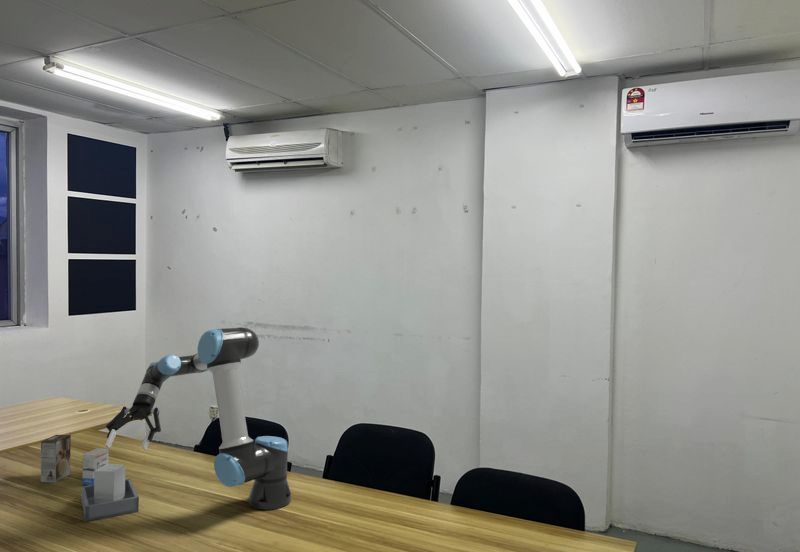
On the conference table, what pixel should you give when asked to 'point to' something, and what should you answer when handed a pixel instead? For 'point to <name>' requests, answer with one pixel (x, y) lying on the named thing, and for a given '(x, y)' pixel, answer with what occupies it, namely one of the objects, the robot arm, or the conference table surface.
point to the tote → (109, 503)
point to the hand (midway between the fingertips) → (125, 447)
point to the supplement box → (109, 483)
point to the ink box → (93, 464)
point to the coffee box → (55, 458)
